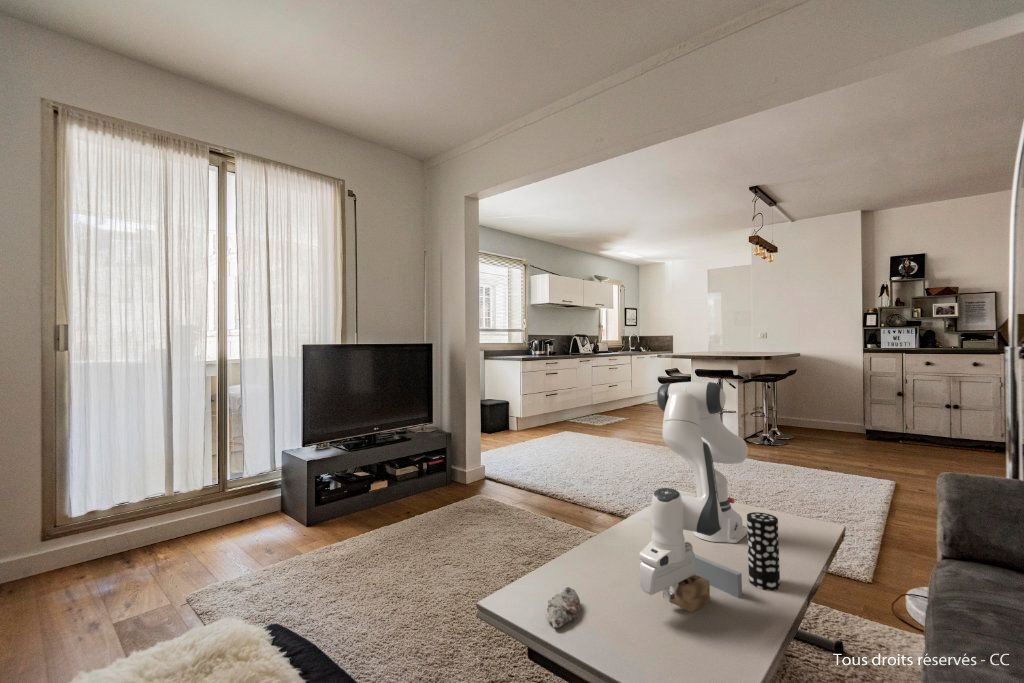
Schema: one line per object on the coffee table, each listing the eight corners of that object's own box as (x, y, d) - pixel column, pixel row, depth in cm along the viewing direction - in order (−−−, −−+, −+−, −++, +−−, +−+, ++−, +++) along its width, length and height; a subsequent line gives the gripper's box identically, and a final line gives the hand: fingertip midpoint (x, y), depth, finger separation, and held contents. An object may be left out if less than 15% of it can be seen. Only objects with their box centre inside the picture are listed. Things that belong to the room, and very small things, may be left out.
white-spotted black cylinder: (754, 573, 145) (752, 510, 146) (783, 582, 139) (781, 516, 140) (744, 583, 140) (742, 517, 140) (775, 593, 134) (773, 524, 134)
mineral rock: (561, 634, 117) (561, 617, 117) (536, 623, 122) (536, 606, 122) (591, 609, 128) (591, 593, 129) (567, 599, 134) (567, 584, 134)
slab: (693, 573, 146) (693, 553, 146) (742, 595, 133) (741, 573, 133) (689, 575, 145) (689, 554, 145) (738, 597, 132) (737, 575, 132)
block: (682, 588, 138) (682, 568, 138) (710, 601, 130) (709, 580, 130) (663, 597, 133) (662, 577, 133) (690, 612, 125) (689, 590, 125)
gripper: (682, 536, 136) (683, 583, 136) (634, 555, 125) (636, 606, 125) (701, 543, 131) (702, 592, 131) (653, 563, 120) (655, 617, 120)
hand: (669, 599), depth 128 cm, fingers closed
